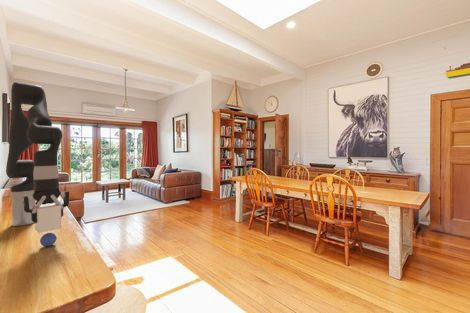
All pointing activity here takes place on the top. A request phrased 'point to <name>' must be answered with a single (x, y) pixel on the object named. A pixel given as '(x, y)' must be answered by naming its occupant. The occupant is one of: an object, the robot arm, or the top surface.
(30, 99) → the robot arm
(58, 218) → the white block
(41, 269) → the top surface
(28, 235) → the top surface
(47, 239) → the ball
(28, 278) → the top surface
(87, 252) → the top surface
